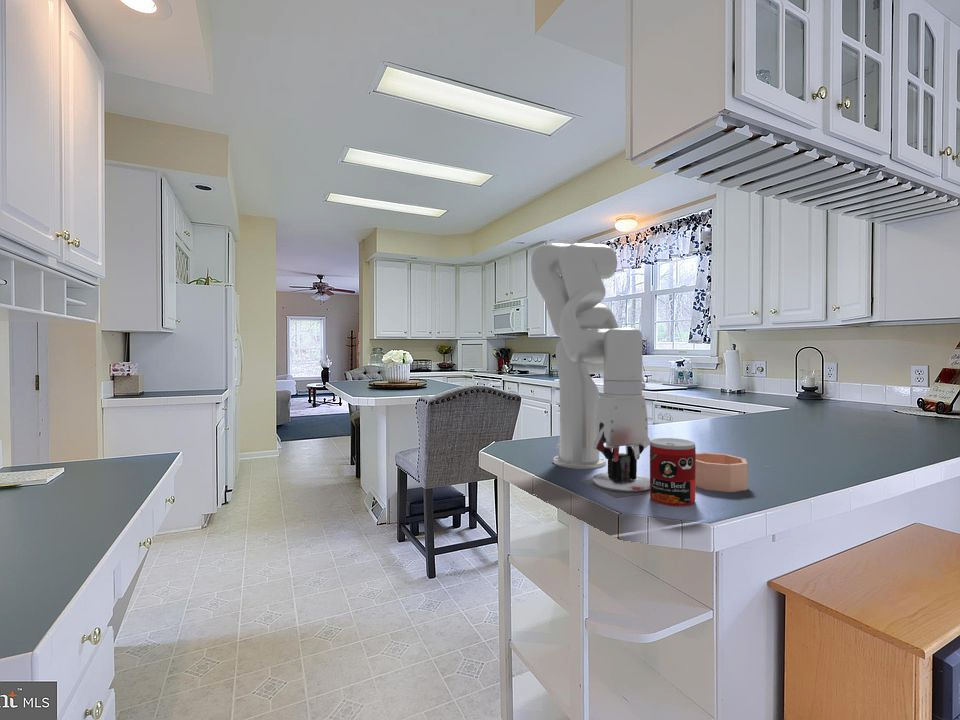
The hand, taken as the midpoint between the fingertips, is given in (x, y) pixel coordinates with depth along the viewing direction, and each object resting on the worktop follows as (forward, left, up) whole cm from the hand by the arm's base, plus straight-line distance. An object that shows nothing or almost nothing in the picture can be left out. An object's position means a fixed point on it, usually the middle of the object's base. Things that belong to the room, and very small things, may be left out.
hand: (622, 478), depth 95 cm
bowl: (+6, +18, -2) cm, 20 cm away
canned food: (+11, +2, -2) cm, 12 cm away
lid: (0, 0, -1) cm, 1 cm away
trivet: (0, 0, -2) cm, 2 cm away
